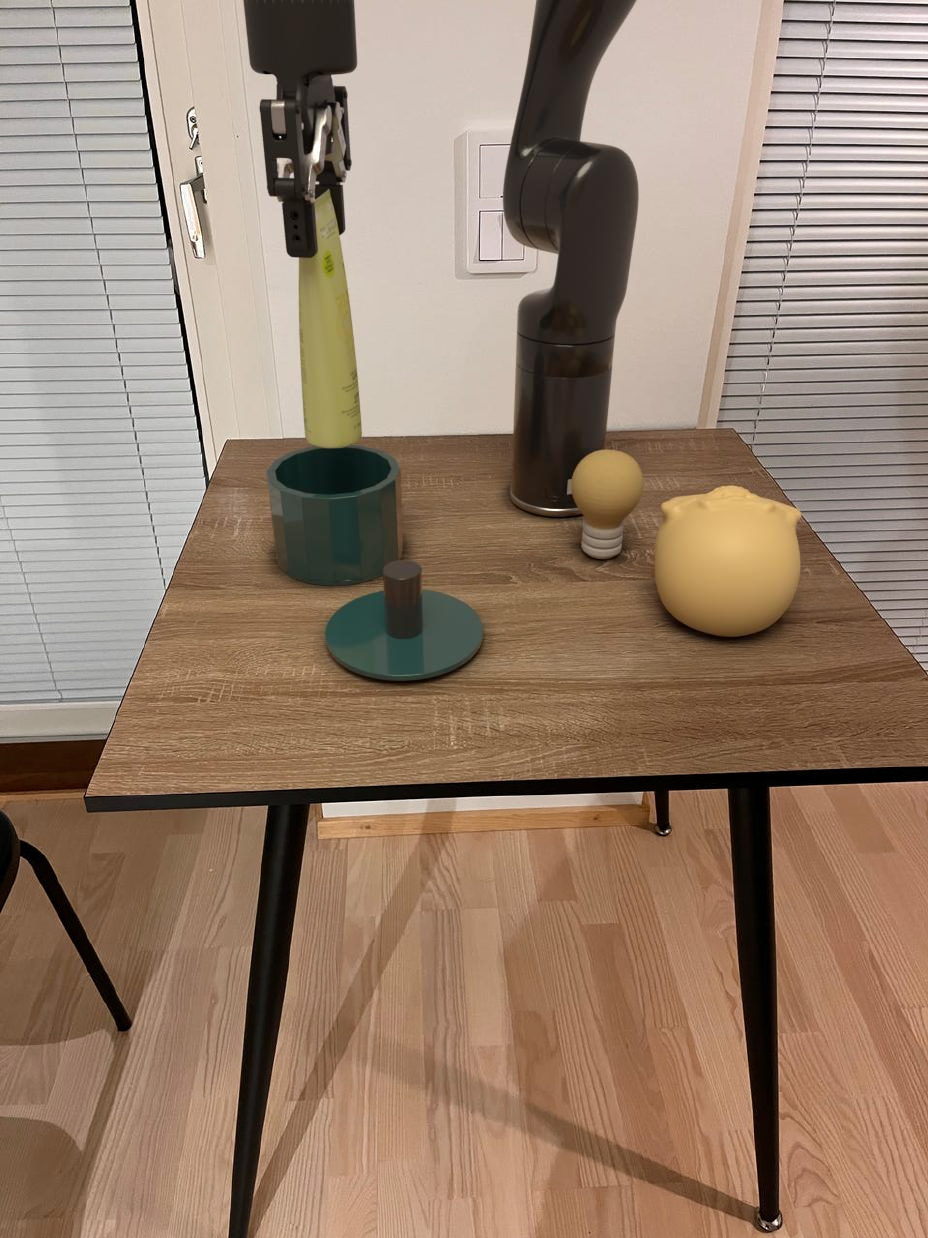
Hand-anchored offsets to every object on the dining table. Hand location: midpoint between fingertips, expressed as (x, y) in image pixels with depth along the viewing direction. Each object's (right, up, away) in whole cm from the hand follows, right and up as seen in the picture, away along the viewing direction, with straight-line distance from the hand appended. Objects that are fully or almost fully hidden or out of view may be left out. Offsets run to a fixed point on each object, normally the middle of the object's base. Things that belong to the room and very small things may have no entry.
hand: (317, 244), depth 74 cm
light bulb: (+24, -23, +15) cm, 37 cm away
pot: (0, -23, +15) cm, 27 cm away
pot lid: (+7, -30, +3) cm, 31 cm away
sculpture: (+33, -29, +7) cm, 44 cm away
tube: (0, -14, +9) cm, 16 cm away
